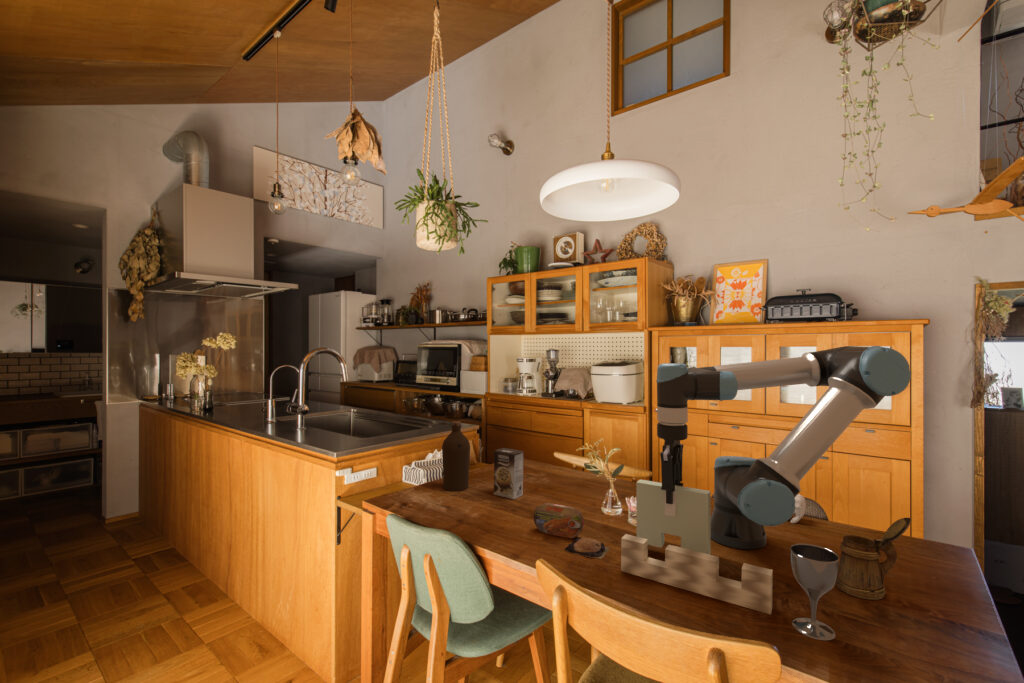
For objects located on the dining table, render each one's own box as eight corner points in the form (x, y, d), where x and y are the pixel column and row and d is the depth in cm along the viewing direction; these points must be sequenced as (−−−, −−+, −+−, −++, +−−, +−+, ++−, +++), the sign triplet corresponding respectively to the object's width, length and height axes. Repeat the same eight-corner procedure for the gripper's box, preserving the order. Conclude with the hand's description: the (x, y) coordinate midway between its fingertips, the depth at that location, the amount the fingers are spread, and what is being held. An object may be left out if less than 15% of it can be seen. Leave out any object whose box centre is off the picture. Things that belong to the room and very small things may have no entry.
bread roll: (610, 550, 126) (610, 536, 126) (601, 563, 119) (601, 548, 119) (573, 542, 131) (573, 528, 131) (562, 553, 124) (562, 539, 124)
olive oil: (475, 486, 178) (476, 421, 178) (455, 493, 170) (456, 425, 170) (456, 481, 185) (456, 418, 185) (435, 487, 176) (436, 421, 176)
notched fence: (621, 571, 114) (621, 538, 114) (625, 566, 116) (625, 533, 116) (770, 614, 96) (771, 575, 96) (772, 607, 98) (772, 569, 98)
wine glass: (794, 636, 89) (794, 557, 89) (786, 613, 96) (786, 540, 96) (843, 646, 86) (844, 564, 86) (831, 621, 94) (832, 547, 93)
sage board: (636, 541, 125) (636, 482, 125) (640, 537, 127) (640, 479, 127) (708, 559, 115) (708, 494, 115) (710, 554, 117) (710, 491, 117)
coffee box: (492, 494, 169) (493, 450, 169) (503, 490, 174) (503, 447, 174) (513, 499, 164) (513, 453, 164) (523, 494, 169) (524, 450, 169)
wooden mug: (916, 610, 98) (916, 524, 97) (837, 593, 104) (838, 512, 104) (905, 591, 105) (906, 511, 105) (833, 575, 112) (833, 501, 112)
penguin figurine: (801, 497, 142) (759, 491, 150) (804, 525, 142) (761, 518, 150) (806, 492, 147) (765, 487, 155) (809, 520, 146) (767, 513, 154)
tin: (532, 531, 137) (532, 502, 137) (537, 527, 140) (537, 499, 140) (581, 541, 130) (581, 511, 130) (585, 537, 133) (585, 507, 133)
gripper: (666, 417, 130) (666, 501, 130) (647, 426, 116) (648, 520, 117) (694, 419, 126) (694, 506, 126) (678, 429, 112) (679, 526, 112)
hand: (672, 513), depth 121 cm, fingers closed on sage board, 3 cm apart
